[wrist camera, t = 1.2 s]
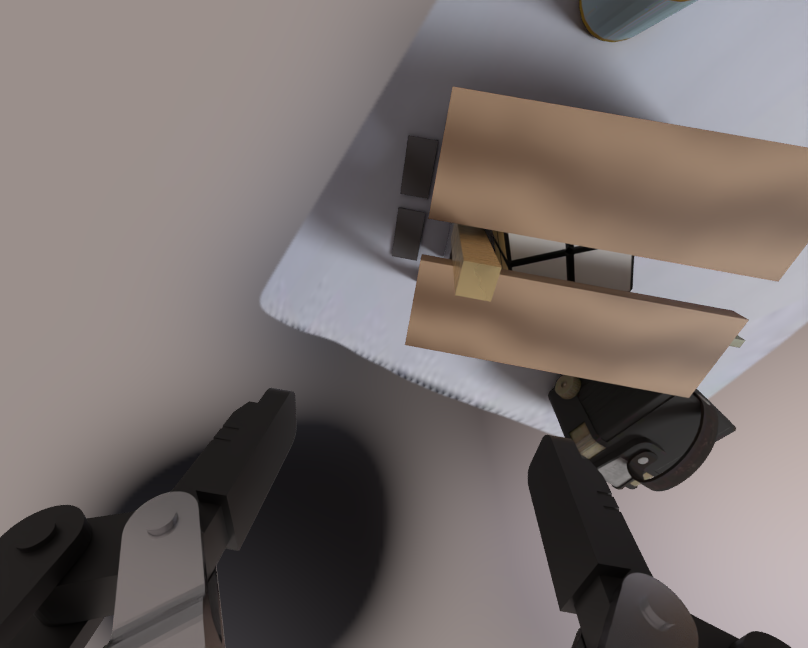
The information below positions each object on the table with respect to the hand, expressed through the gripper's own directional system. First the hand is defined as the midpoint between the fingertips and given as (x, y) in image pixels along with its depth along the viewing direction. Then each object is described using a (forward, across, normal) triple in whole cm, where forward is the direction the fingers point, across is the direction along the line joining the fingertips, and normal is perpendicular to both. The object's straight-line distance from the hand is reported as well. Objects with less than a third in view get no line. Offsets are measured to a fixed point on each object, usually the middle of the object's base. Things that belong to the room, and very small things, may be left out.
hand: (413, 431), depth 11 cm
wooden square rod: (+30, -3, -2) cm, 30 cm away
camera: (+30, -26, +16) cm, 43 cm away
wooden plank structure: (+30, -17, -2) cm, 34 cm away
